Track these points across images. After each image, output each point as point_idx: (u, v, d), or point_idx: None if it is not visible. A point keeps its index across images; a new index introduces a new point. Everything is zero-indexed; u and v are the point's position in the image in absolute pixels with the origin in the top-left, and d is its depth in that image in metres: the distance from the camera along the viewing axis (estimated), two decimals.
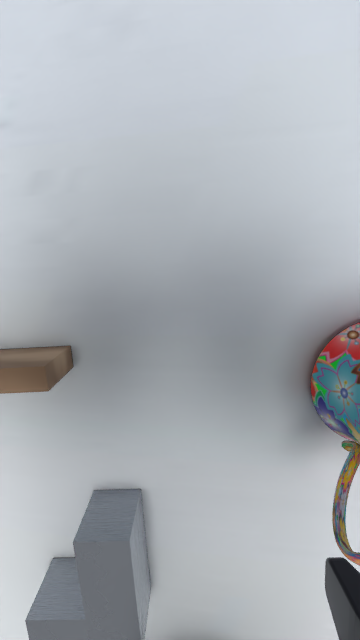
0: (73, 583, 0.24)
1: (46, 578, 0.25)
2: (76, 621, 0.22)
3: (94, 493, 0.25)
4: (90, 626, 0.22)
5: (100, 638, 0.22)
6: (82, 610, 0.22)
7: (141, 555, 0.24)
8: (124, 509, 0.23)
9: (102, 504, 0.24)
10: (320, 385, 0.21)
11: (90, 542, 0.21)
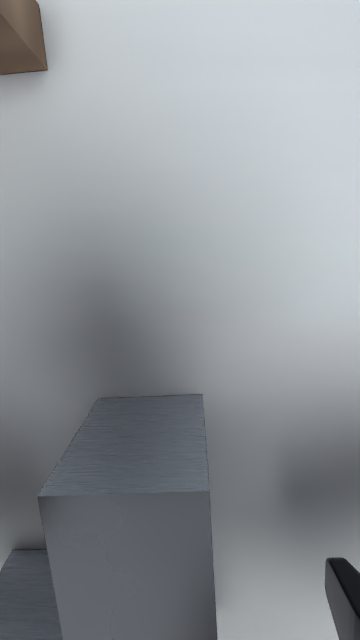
0: (51, 608, 0.11)
1: None
2: None
3: (99, 403, 0.11)
4: None
5: None
6: None
7: None
8: (175, 425, 0.09)
9: (118, 419, 0.10)
10: None
11: (88, 497, 0.07)
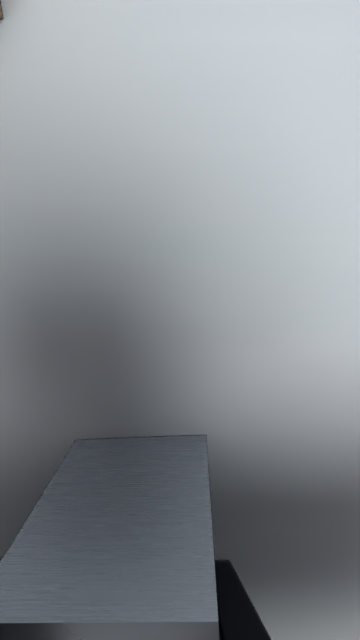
0: None
1: None
2: None
3: (76, 446, 0.09)
4: None
5: None
6: None
7: None
8: (170, 487, 0.07)
9: (98, 474, 0.08)
10: None
11: (38, 626, 0.05)
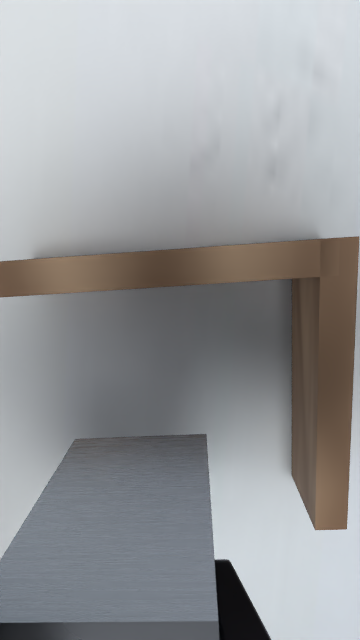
0: None
1: None
2: None
3: (75, 446, 0.09)
4: None
5: None
6: None
7: None
8: (170, 487, 0.07)
9: (97, 473, 0.08)
10: None
11: (37, 626, 0.05)
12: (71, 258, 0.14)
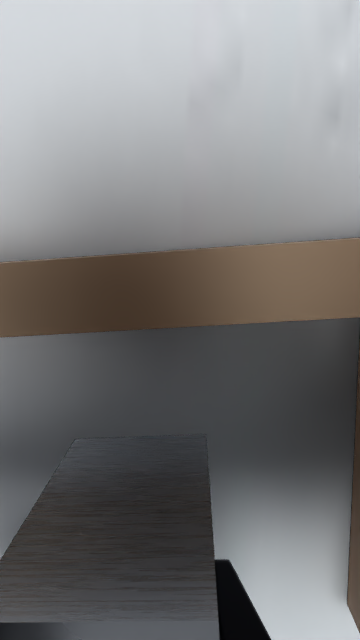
0: None
1: None
2: None
3: (75, 446, 0.09)
4: None
5: None
6: None
7: None
8: (170, 486, 0.07)
9: (97, 473, 0.08)
10: None
11: (36, 625, 0.05)
12: None
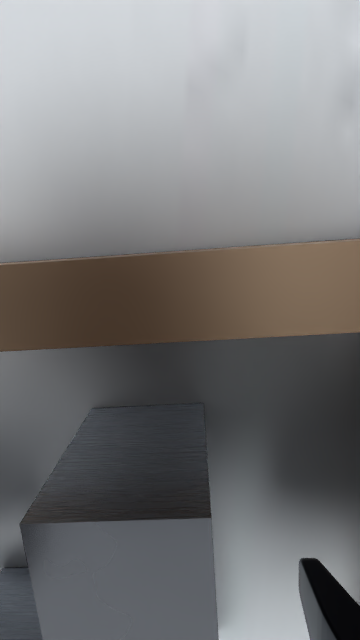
0: (42, 634, 0.10)
1: None
2: None
3: (92, 413, 0.10)
4: None
5: None
6: None
7: None
8: (174, 439, 0.08)
9: (113, 431, 0.09)
10: None
11: (76, 525, 0.06)
12: None
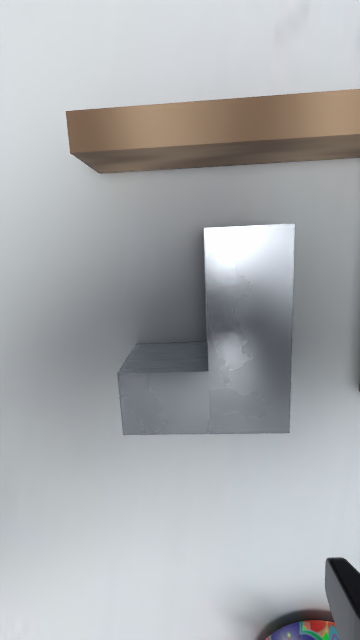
0: (175, 354, 0.17)
1: (133, 353, 0.18)
2: (195, 375, 0.15)
3: None
4: (215, 384, 0.15)
5: (228, 405, 0.15)
6: (200, 367, 0.15)
7: None
8: None
9: None
10: None
11: (231, 228, 0.13)
12: (157, 106, 0.13)
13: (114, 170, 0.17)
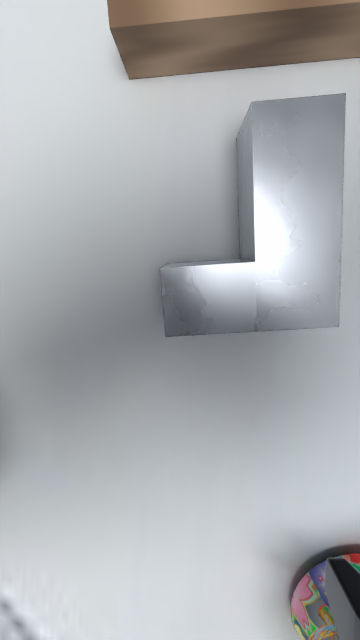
0: (212, 262, 0.16)
1: (168, 264, 0.17)
2: (241, 267, 0.14)
3: None
4: (262, 275, 0.14)
5: (275, 298, 0.14)
6: (244, 261, 0.15)
7: None
8: None
9: None
10: None
11: (279, 101, 0.13)
12: None
13: (145, 72, 0.16)
